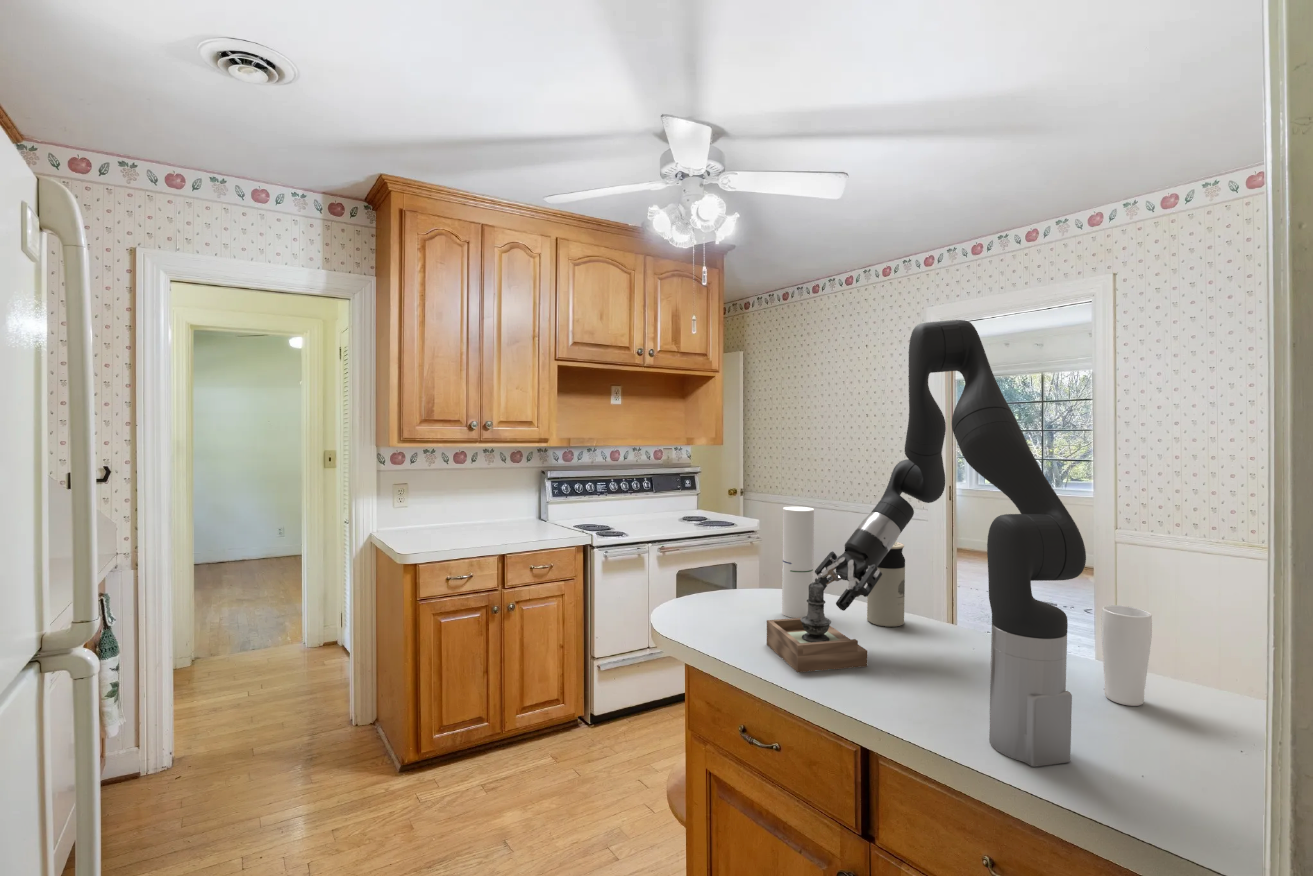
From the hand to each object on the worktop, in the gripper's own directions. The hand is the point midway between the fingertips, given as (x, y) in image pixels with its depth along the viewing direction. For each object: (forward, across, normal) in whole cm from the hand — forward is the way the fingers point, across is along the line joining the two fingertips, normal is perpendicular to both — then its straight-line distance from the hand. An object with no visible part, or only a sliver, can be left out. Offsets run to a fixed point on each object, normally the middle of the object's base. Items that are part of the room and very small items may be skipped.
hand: (825, 601), depth 128 cm
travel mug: (-10, -11, +25) cm, 29 cm away
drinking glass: (-16, +36, +30) cm, 50 cm away
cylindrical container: (0, -24, +14) cm, 28 cm away
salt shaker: (+7, 0, +4) cm, 8 cm away
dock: (+9, 0, +6) cm, 11 cm away
